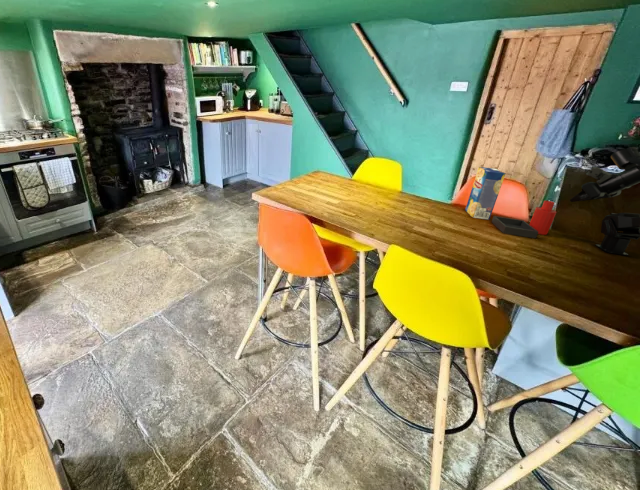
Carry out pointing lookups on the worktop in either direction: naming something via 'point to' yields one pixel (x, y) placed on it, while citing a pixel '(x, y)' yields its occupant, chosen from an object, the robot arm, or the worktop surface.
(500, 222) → the tray
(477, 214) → the cracker box
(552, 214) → the ketchup bottle
